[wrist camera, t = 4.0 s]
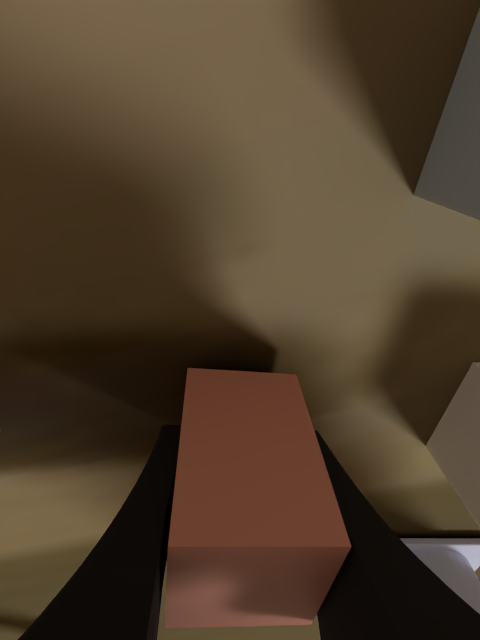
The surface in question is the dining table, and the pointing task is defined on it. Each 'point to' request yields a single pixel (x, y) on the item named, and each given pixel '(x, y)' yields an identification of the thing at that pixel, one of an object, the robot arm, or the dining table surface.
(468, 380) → the pale grey block
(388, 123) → the dining table surface
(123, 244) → the dining table surface
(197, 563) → the brick-red block
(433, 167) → the blue-grey block
